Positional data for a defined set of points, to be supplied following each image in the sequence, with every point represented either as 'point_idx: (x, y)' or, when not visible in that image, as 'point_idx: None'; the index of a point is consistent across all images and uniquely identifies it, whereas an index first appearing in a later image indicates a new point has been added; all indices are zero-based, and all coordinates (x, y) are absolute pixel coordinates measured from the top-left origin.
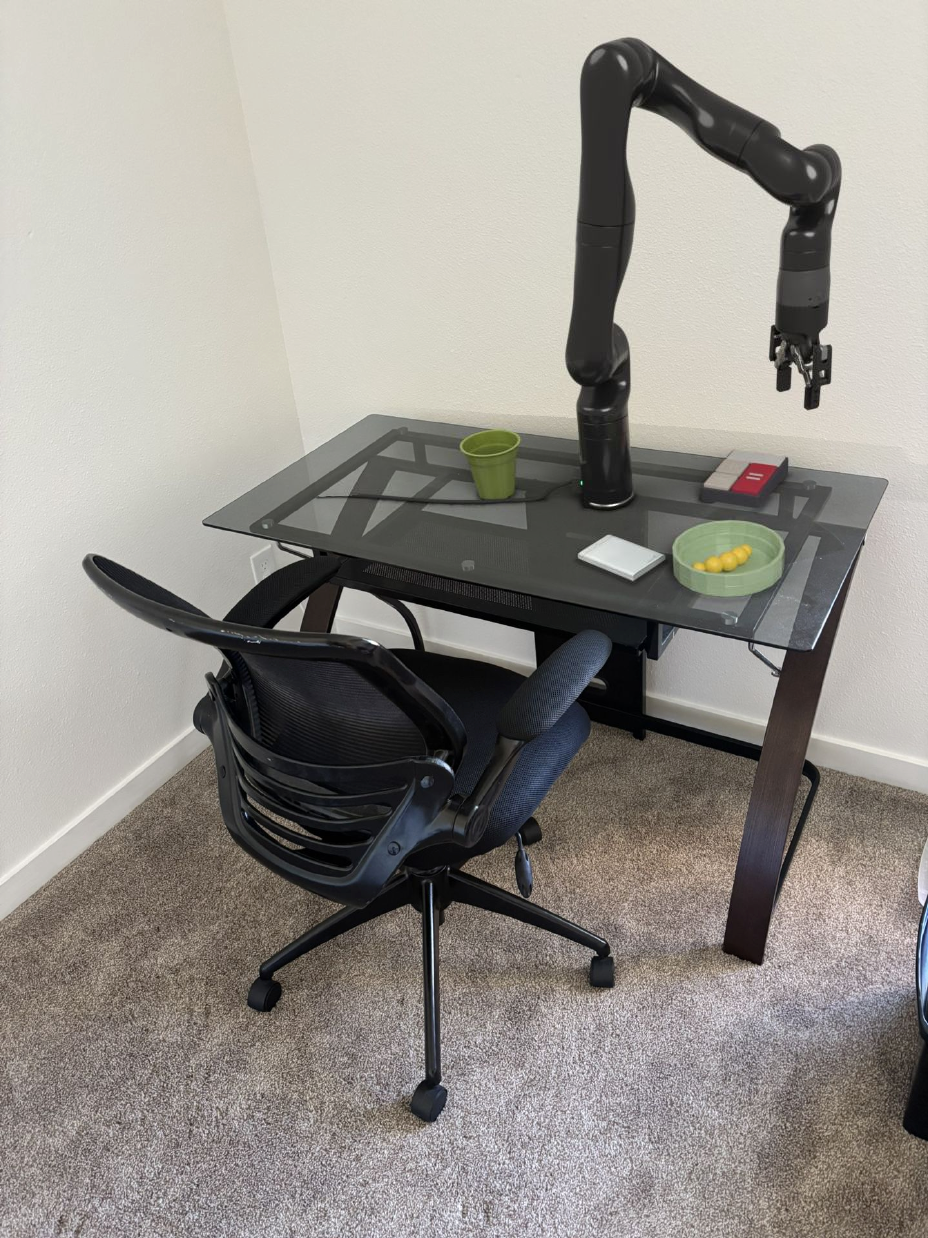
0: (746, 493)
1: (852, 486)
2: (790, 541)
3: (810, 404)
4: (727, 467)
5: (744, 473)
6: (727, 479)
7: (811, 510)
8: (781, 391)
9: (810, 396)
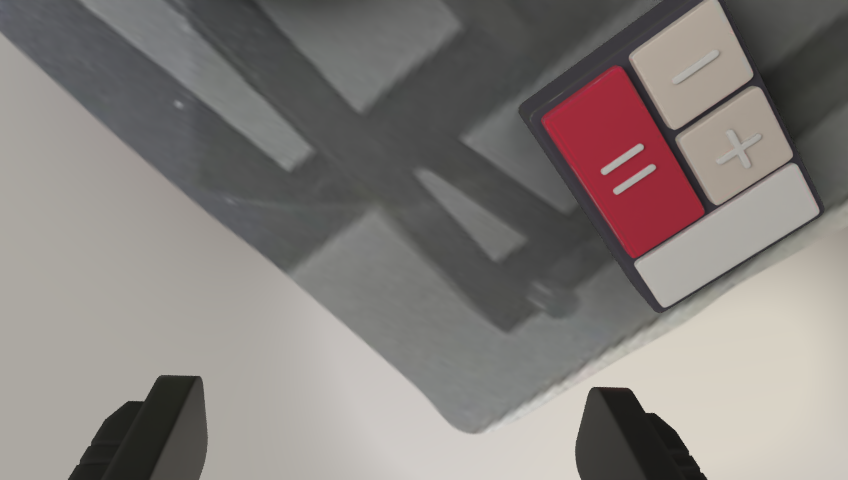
0: (568, 96)
1: (479, 371)
2: (307, 87)
3: (112, 420)
4: (742, 130)
5: (668, 154)
6: (679, 87)
7: (432, 231)
8: (588, 401)
9: (94, 475)
